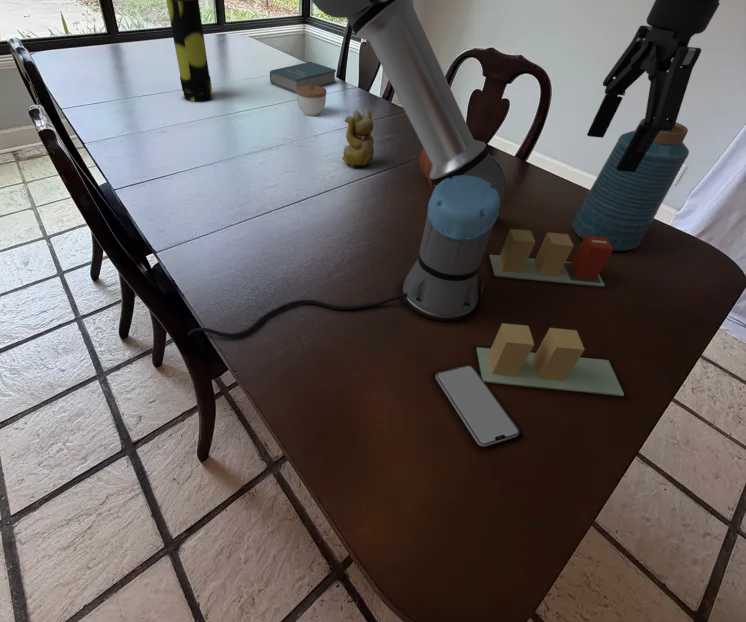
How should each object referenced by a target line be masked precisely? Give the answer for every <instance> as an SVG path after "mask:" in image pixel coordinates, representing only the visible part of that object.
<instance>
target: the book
mask: <svg viewBox="0 0 746 622" xmlns="http://www.w3.org/2000/svg"><path fill="white" fill-rule="evenodd" d="M336 72H337V69H335V68H331V67H328V66H326V65H322V64H319V63H316V62H313V61H307V62H304V63H298V64H294V65H289V66H285V67H281V68H277V69H271V70H270V71H269V82H270V84H271V85H274V86H275V87H278V88H280V89H284V90H286V91H289V92H290V93H294V94H296V95H297V92H296V89H297V88H298V87H300V86H304V85H310V84H313V85H316V86H320V87H323V88H324V87H327V86H330V85H335V84H336V83H337V82H336V78H335V77H336Z"/></svg>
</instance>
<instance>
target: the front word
mask: <svg viewBox="0 0 746 622" xmlns="http://www.w3.org/2000/svg"><path fill="white" fill-rule="evenodd" d="M534 347H535V341H534V338H533V335H532V332H531V329H530V326H529V325H527V324H526V325H524V324H515V323H514V324H513V323H503V322H502V323H501V325H500V327H499V329H498V331H497V333H496V336H495V338H494V341H493V342H492V345H491V348H489V347H479V346H477V347H476V354H477V360H478V364H479V372H480V377H481V379H482V380H483V381H484V383H485V384H487V383H488V384H495V385H506V386H507V385H508V386H517V387H518V386H519V387H527V388H537V389H545V390H546V389H547V390H557V391H565V392H567V391H568V392H577V393H585V394H598V395H606V396H617V397H618V396H619V397H624V396H625V393H624V391H623V389H622V387H621V384H620V382H619V380H618V377H617V375H616V373H615V371H614V368H613V367H612V365H611V362H610V360H609V359H600V358H591V357H582V354H583V353H584V352H585V350H586V349H585V347H584V345H583V341H582V340H581V337H580V334H579V333H578V330H576V329H566V328H557V327H549V328H548V331H547V332H546V334H545V335H544V337H543V339H542V341H541V343H540V345H539V346H538V349H537V350H536V352H532V350H533V348H534Z"/></svg>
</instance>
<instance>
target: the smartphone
mask: <svg viewBox="0 0 746 622" xmlns="http://www.w3.org/2000/svg"><path fill="white" fill-rule="evenodd" d="M435 380H436V382H437V383H438V385H439V386H440V388H441V389H442V391H443V392H444V394H445V396H446V398H448V400H449V402H450V404H451V405H452V406H453V408H454V409H455V412H456V413H457V414H458V416H459V418H460V419H461V420H462V422H463V423H464V425H465V427H466V428H467V430H468V432H469V433H470V434H471V436H472V437H473V440H474V441H475V442H476V444H477V445H478V446H480V447H484V448H485V447H488V446H492V445H495V444H498V443H502V442H505V441H508V440H512V439H514V438H517V437H518V436H519V434H520V430H519V427H518V426H517V425H516V424H515V422H514V421H513V420H512V418H511V417H510V415H509V414H508V413H507V412H506V410H505V409H504V407H503V405H502V404H501V403H500V402H499V400H498V399H497V398H496V396H495V395H494V394H493V392H492V390H490V388H489V387H488V385H487V383H486V382H484V381H483V380H482V377H481V375H480V374H479V373H478V371H477V370H476V369H475V367H473V366H472V365H469V364H466V365H462V366H457V367H453V368H450V369H447V370H446V369H445V370H442V371H438V372H437V373H436V374H435Z"/></svg>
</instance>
